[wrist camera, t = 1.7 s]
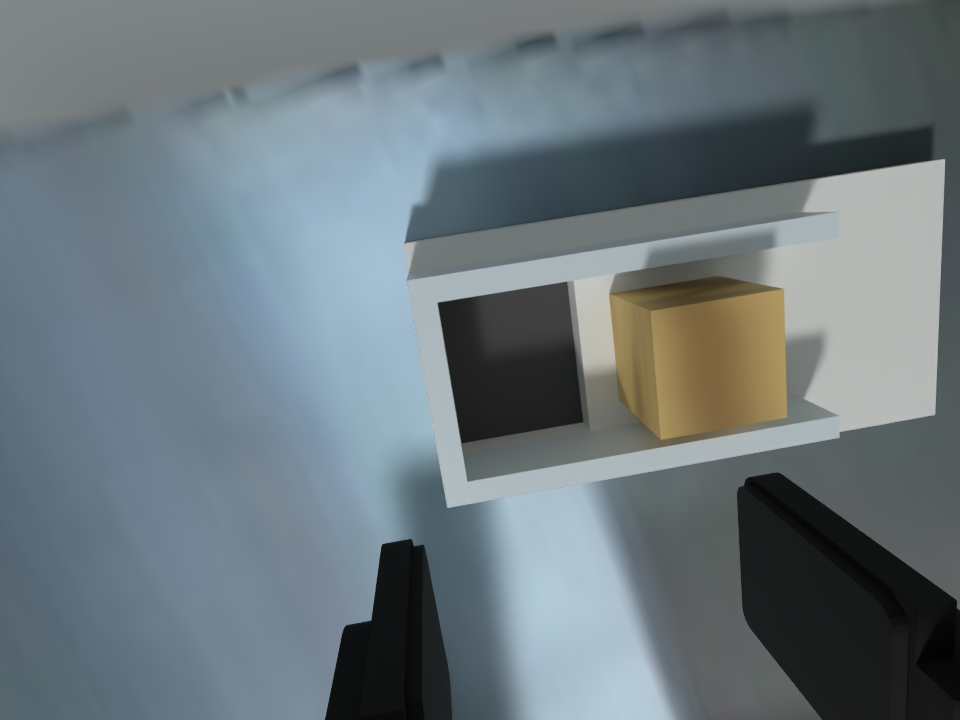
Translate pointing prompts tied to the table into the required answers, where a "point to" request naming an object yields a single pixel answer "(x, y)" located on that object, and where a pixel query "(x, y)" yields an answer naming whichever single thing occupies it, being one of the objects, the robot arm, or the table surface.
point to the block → (700, 354)
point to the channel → (659, 261)
